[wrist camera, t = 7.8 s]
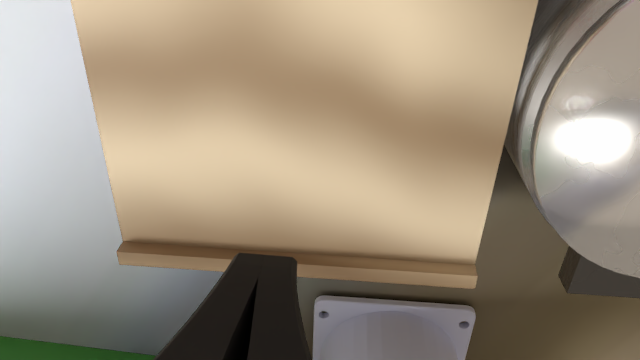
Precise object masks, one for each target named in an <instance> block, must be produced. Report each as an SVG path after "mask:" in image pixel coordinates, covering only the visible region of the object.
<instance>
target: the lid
mask: <svg viewBox="0 0 640 360" xmlns="http://www.w3.org/2000/svg"><path fill="white" fill-rule="evenodd" d="M530 167H531V176H532V182H533V185H534V188H535V192H536V195H537V198H538V200H539V202H540V204H541V206H542V208H543V210H544V212H545V214H546V216H547V218H548V220H549V221H550V223H551V225H552V226H553V227H554V229H555V230H556V231H557V233H558V234H559V236H560V237H561V238H562V239H563V240H564V241H565V242H566V243H567V244H568V245H569V246H570V247H571V248H572V249H574V250H575V251H576V252H578V253H579V254H581V255H582V256H583V257H585V258H586V259H588V260H590V261H592V262H594V263H596V264H598V265H600V266H602V267H603V268H606V269H609V270H612V271H615V272H617V273H620V274H624V275H628V276H633V277H637V278H640V0H619V1H618V2H617V3H616V4H615V5H613V6H612V7H611V8H610V9H608V10H607V11H606V12H605V13H604V14H603V15H602V16H601V17H600V18H599V19H598V20H597V21H596V22H595V23H594V24H593V25H592V26H591V27H590V28H589V29H588V30H587V31H586V32H585V33H584V34H583V36H582V37H581V38H580V39H579V41H578V42H577V43H576V44H575V46H574V47H573V48H572V49H571V50H570V52H569V53H568V54H567V56H566V57H565V59H564V60H563V62H562V63H561V65H560V67H559V68H558V70H557V71H556V73H555V74H554V76H553V78H552V80H551V82H550V84H549V86H548V88H547V90H546V92H545V94H544V96H543V98H542V101H541V103H540V106H539V109H538V112H537V115H536V118H535V121H534V127H533V132H532V137H531V144H530Z"/></svg>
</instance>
